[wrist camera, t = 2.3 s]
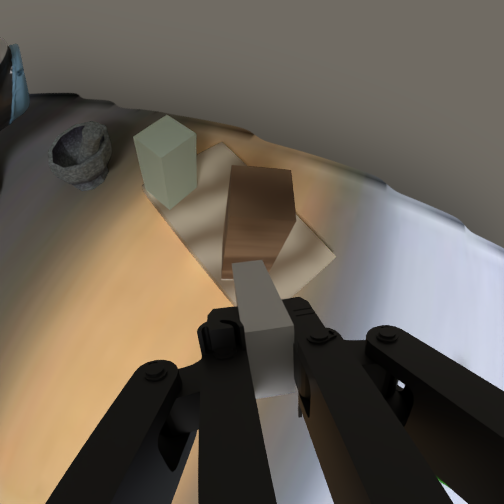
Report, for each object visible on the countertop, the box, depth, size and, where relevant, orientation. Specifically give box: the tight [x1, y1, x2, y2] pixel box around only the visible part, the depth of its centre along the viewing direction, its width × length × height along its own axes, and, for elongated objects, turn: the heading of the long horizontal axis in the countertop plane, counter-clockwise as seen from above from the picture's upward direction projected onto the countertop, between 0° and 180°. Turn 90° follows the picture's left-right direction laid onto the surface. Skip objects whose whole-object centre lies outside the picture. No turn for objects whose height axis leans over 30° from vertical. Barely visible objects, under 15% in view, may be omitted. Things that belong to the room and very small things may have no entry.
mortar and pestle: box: [48, 121, 112, 191], centre depth 34 cm, size 11×9×12 cm
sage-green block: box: [133, 115, 197, 210], centre depth 34 cm, size 5×5×10 cm
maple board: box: [142, 142, 336, 307], centre depth 38 cm, size 24×14×2 cm, turn 41°
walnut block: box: [221, 165, 296, 280], centre depth 29 cm, size 5×5×14 cm
